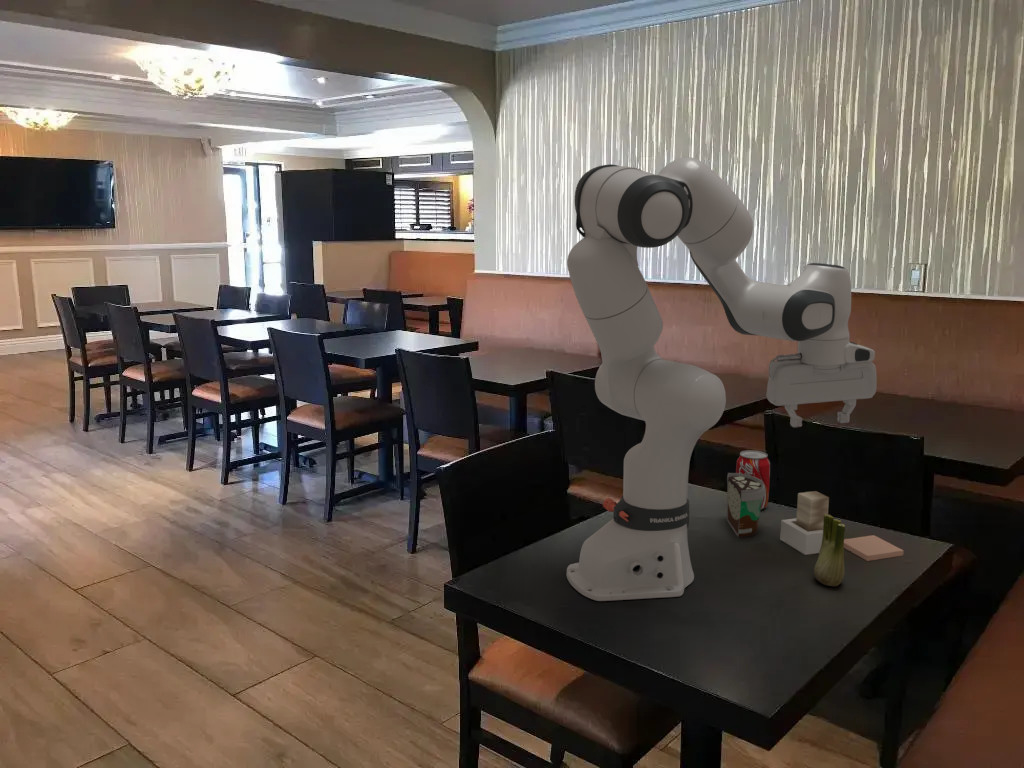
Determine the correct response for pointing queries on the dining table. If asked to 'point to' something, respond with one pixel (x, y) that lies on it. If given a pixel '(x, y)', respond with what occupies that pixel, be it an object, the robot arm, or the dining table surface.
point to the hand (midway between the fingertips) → (819, 424)
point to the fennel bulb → (831, 553)
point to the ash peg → (811, 510)
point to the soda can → (755, 469)
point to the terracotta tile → (872, 548)
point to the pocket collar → (800, 537)
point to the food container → (744, 503)
